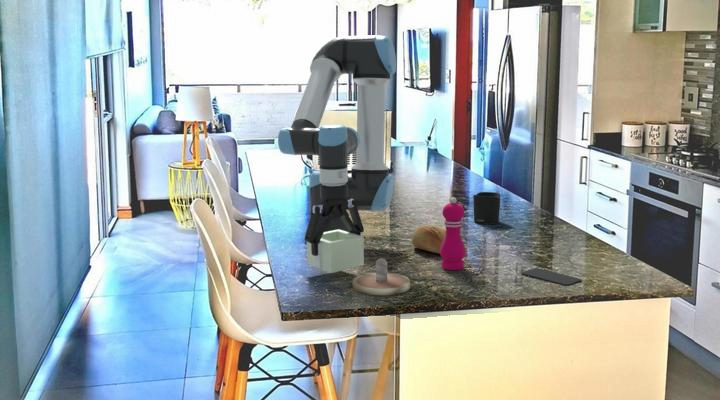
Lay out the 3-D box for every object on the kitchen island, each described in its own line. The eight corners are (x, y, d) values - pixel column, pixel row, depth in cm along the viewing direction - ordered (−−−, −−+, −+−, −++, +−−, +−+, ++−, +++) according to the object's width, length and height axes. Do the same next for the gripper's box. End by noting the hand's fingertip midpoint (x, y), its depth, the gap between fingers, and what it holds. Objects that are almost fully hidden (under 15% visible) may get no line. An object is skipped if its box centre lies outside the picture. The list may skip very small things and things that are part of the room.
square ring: (339, 256, 223) (338, 229, 221) (363, 265, 214) (363, 236, 212) (307, 264, 216) (306, 235, 214) (331, 273, 207) (330, 243, 206)
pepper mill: (463, 263, 226) (464, 194, 222) (467, 270, 218) (468, 199, 215) (438, 264, 225) (438, 195, 222) (441, 271, 218) (442, 200, 214)
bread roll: (436, 259, 231) (436, 232, 230) (403, 249, 243) (403, 223, 241) (460, 253, 237) (460, 227, 235) (426, 244, 249) (427, 219, 247)
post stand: (384, 275, 215) (384, 248, 214) (422, 287, 203) (422, 259, 202) (340, 285, 206) (340, 257, 204) (377, 299, 194) (377, 269, 193)
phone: (567, 285, 203) (519, 272, 214) (567, 288, 204) (519, 275, 215) (583, 279, 208) (535, 267, 219) (583, 282, 208) (535, 270, 219)
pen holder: (468, 220, 282) (468, 192, 280) (492, 218, 285) (492, 191, 283) (480, 225, 273) (480, 197, 272) (504, 223, 276) (505, 195, 274)
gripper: (305, 191, 200) (308, 274, 205) (376, 179, 215) (377, 257, 219) (289, 187, 206) (291, 267, 211) (359, 176, 220) (360, 252, 225)
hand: (335, 262), depth 215 cm, fingers closed on square ring, 11 cm apart
